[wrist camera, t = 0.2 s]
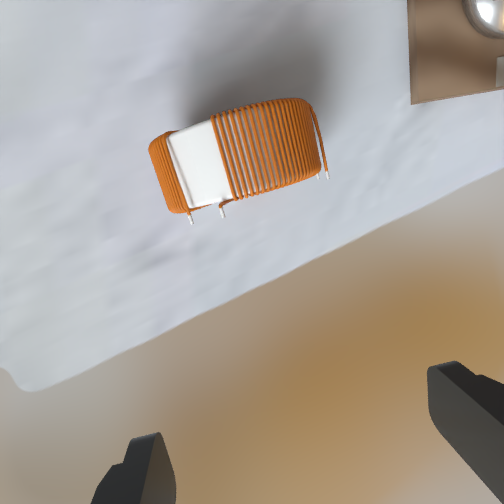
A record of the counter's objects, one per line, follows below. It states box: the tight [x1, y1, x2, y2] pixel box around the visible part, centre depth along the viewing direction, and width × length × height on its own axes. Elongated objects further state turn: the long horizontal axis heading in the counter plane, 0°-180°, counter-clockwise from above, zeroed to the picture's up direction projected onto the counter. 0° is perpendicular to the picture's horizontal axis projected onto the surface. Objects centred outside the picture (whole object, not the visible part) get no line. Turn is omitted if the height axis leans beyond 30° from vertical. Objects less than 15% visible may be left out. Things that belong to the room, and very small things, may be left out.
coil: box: [148, 98, 330, 224], centre depth 28 cm, size 7×15×15 cm, turn 105°
